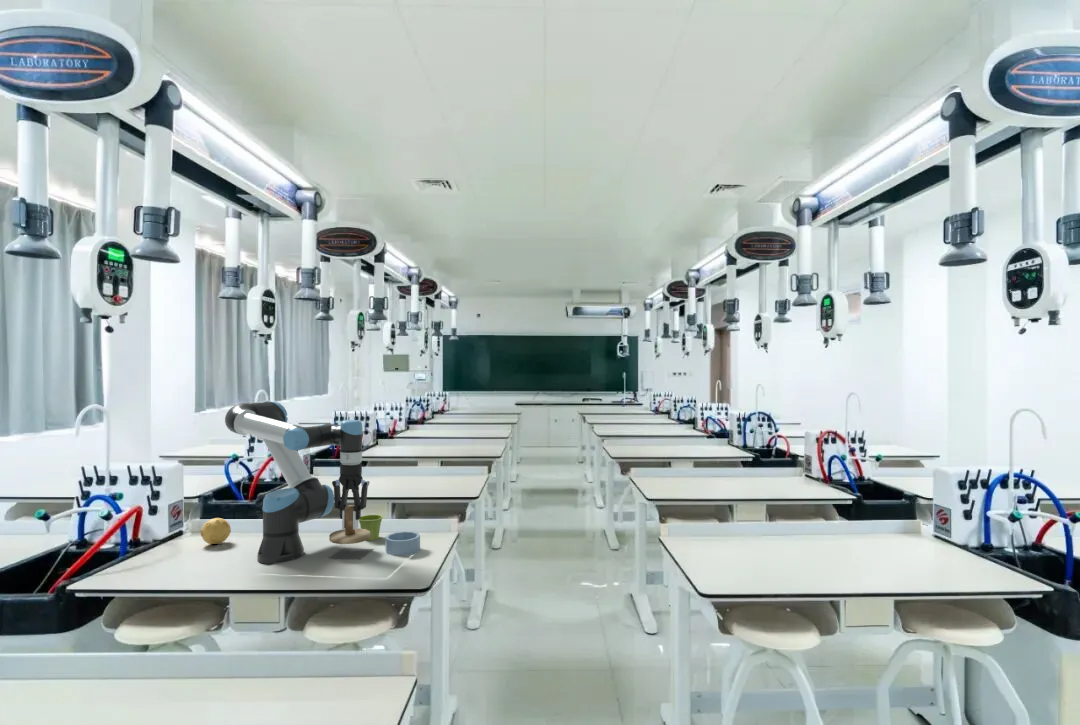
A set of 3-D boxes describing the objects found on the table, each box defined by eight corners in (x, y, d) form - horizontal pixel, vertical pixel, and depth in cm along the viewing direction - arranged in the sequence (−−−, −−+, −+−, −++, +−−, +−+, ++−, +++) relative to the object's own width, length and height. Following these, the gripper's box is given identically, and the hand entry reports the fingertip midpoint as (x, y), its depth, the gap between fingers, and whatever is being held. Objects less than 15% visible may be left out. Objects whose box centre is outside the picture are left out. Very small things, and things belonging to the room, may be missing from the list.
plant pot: (364, 535, 232) (364, 514, 232) (386, 536, 230) (386, 514, 231) (353, 542, 222) (353, 520, 223) (376, 543, 221) (376, 520, 221)
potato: (210, 543, 225) (190, 532, 219) (228, 521, 230) (209, 509, 223) (222, 552, 220) (202, 541, 213) (240, 529, 224) (221, 517, 217)
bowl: (380, 555, 206) (380, 540, 206) (393, 545, 218) (393, 531, 218) (413, 557, 205) (413, 541, 205) (423, 546, 217) (423, 532, 217)
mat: (327, 559, 202) (327, 558, 202) (343, 549, 214) (343, 547, 214) (360, 561, 201) (360, 559, 201) (374, 550, 213) (374, 548, 213)
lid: (322, 543, 202) (322, 510, 202) (340, 531, 216) (340, 500, 216) (360, 545, 200) (360, 511, 200) (376, 533, 214) (376, 502, 214)
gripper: (324, 464, 205) (323, 530, 205) (368, 465, 203) (367, 532, 203) (334, 460, 213) (333, 524, 213) (377, 462, 211) (376, 526, 211)
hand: (350, 528), depth 208 cm, fingers closed on lid, 3 cm apart
